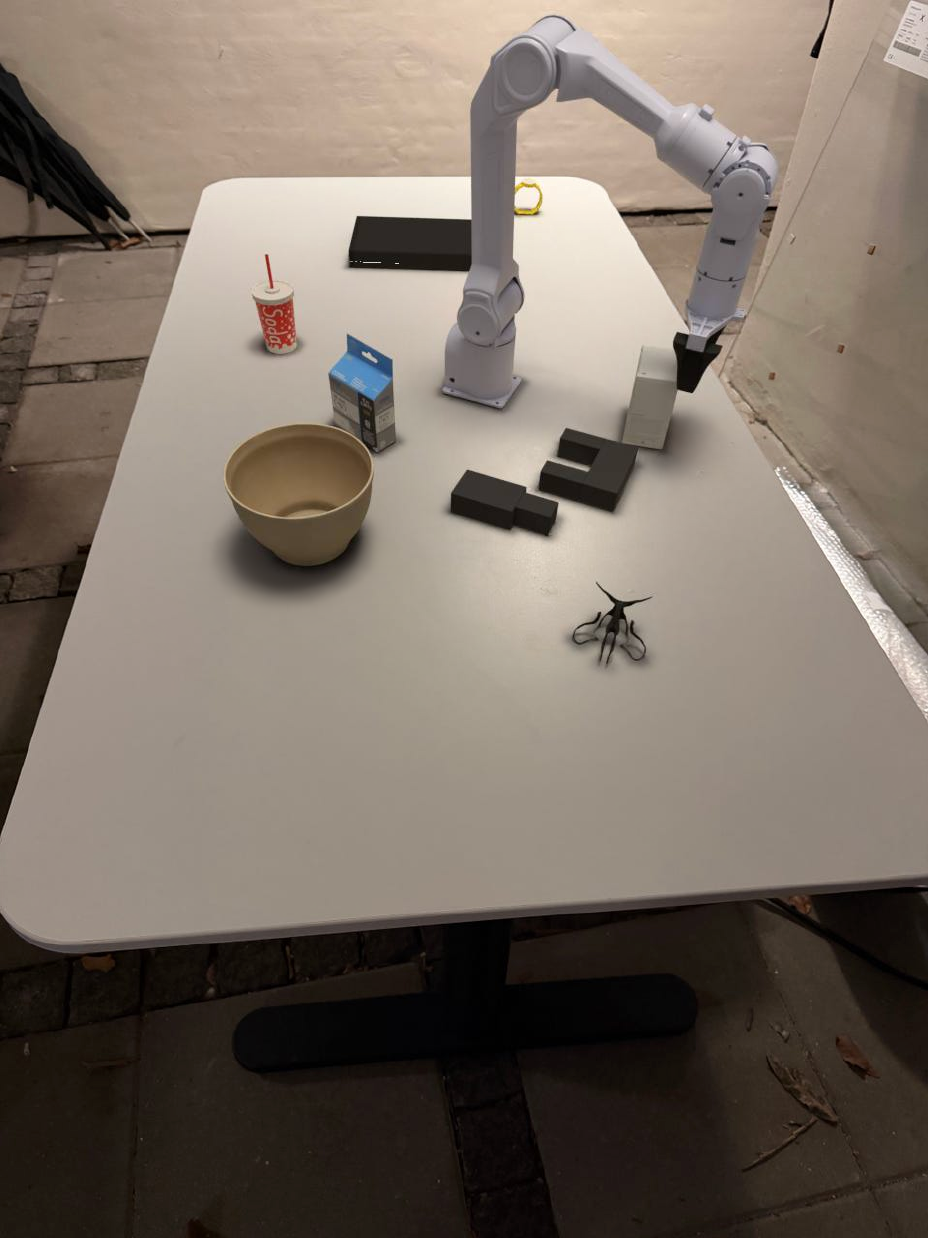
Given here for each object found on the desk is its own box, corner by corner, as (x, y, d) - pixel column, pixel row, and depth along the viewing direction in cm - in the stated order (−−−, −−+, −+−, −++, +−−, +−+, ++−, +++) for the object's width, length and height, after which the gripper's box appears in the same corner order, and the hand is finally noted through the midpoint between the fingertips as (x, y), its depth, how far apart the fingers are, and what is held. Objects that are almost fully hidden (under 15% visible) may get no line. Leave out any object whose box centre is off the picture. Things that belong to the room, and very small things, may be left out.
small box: (661, 451, 105) (680, 383, 97) (620, 444, 106) (635, 375, 98) (667, 417, 110) (685, 349, 102) (627, 410, 111) (642, 343, 103)
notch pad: (538, 489, 99) (540, 471, 97) (563, 445, 105) (565, 427, 103) (613, 511, 97) (617, 493, 94) (634, 465, 103) (638, 447, 100)
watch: (511, 216, 151) (513, 183, 147) (509, 210, 153) (511, 178, 148) (541, 216, 152) (544, 183, 147) (539, 210, 154) (542, 177, 149)
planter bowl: (268, 607, 85) (249, 536, 77) (225, 517, 94) (205, 445, 86) (401, 561, 90) (397, 489, 82) (349, 480, 99) (340, 408, 91)
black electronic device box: (358, 231, 145) (356, 215, 143) (481, 235, 146) (481, 218, 143) (349, 267, 136) (348, 250, 134) (481, 271, 136) (481, 254, 134)
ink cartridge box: (332, 425, 107) (322, 343, 97) (354, 413, 109) (345, 332, 99) (377, 453, 103) (370, 371, 93) (398, 441, 105) (394, 359, 95)
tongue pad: (450, 511, 96) (450, 492, 94) (466, 487, 99) (467, 468, 97) (545, 541, 93) (547, 522, 91) (558, 515, 96) (561, 496, 94)
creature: (638, 679, 81) (654, 616, 85) (646, 658, 77) (663, 591, 80) (565, 659, 83) (585, 597, 86) (569, 636, 78) (589, 572, 82)
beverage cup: (254, 351, 118) (235, 259, 108) (275, 331, 122) (259, 241, 111) (289, 360, 117) (274, 268, 106) (309, 340, 121) (296, 249, 110)
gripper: (745, 305, 83) (711, 412, 94) (767, 250, 92) (734, 353, 102) (681, 291, 85) (654, 398, 95) (708, 238, 94) (681, 341, 104)
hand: (692, 374), depth 99 cm, fingers open, 7 cm apart
